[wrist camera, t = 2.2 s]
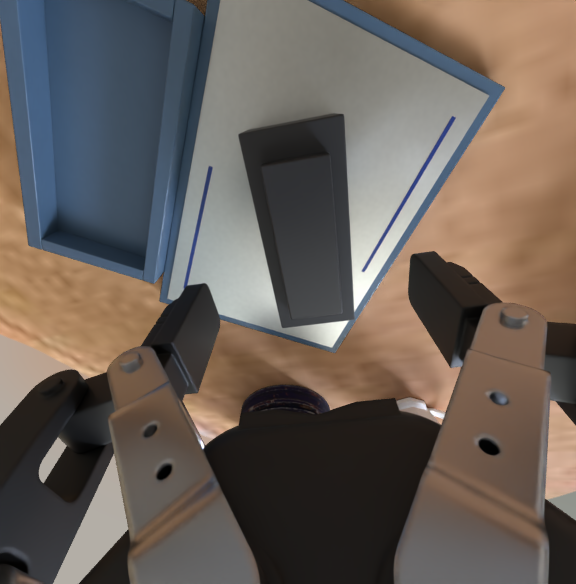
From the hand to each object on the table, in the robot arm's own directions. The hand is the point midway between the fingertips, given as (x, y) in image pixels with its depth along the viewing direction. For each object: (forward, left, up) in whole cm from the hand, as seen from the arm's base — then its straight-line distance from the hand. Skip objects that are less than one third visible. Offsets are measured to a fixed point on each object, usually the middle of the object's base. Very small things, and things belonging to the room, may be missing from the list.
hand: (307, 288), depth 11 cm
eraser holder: (0, -12, -9) cm, 15 cm away
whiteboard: (0, 0, -9) cm, 9 cm away
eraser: (0, 0, -8) cm, 8 cm away
